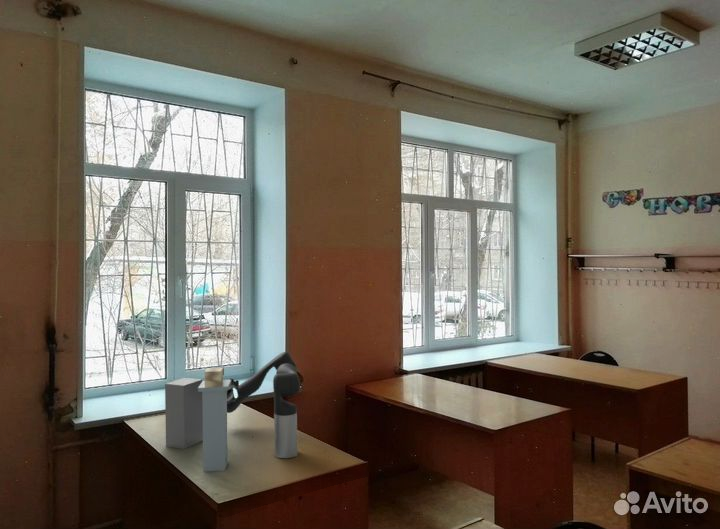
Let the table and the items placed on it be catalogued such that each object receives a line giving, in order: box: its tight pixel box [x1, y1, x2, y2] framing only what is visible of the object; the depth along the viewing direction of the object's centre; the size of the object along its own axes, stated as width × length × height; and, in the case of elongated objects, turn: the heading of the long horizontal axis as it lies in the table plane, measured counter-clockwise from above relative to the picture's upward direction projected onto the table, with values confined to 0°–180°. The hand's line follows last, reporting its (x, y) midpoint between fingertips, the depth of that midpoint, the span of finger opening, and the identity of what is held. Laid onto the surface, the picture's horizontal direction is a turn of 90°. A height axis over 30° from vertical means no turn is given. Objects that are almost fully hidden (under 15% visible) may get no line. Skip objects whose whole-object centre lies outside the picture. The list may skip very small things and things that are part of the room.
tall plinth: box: [198, 379, 231, 472], centre depth 205 cm, size 11×12×32 cm
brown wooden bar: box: [204, 366, 225, 388], centre depth 210 cm, size 6×22×6 cm, turn 8°
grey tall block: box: [164, 377, 203, 450], centre depth 230 cm, size 12×10×27 cm
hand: (220, 380), depth 224 cm, fingers open, 8 cm apart
